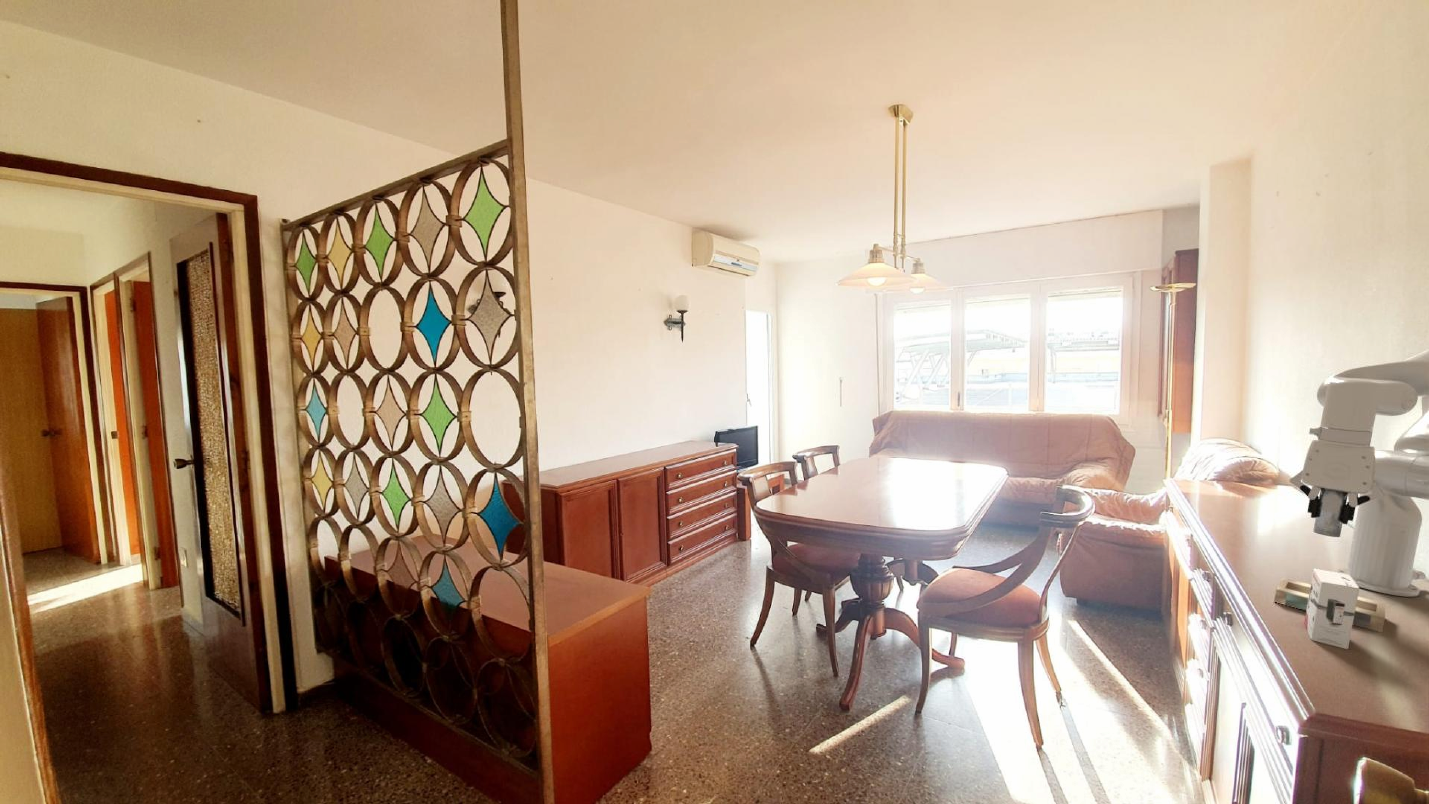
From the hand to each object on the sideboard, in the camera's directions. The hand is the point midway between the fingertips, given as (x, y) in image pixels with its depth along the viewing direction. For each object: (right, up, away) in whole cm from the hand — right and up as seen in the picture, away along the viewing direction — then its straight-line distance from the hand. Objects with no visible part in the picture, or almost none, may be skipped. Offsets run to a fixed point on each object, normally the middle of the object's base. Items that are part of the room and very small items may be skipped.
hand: (1329, 519), depth 122 cm
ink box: (-18, -19, -16) cm, 31 cm away
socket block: (-6, -18, -5) cm, 19 cm away
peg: (0, -3, 0) cm, 3 cm away
